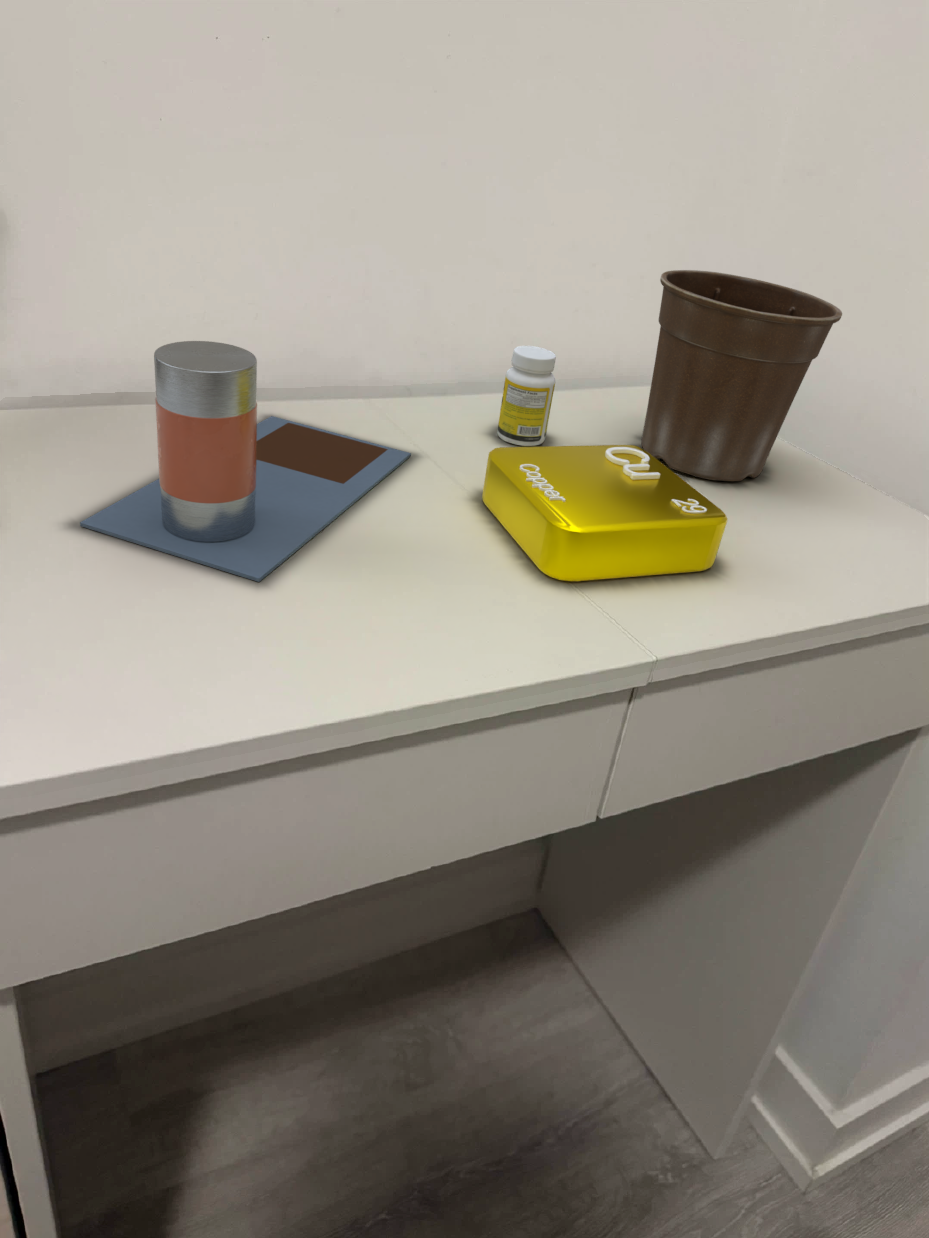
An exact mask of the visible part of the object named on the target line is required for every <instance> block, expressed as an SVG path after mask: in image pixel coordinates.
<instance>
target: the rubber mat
mask: <svg viewBox="0 0 929 1238" xmlns="http://www.w3.org/2000/svg"><path fill="white" fill-rule="evenodd" d="M410 457H412V452H409V451H405V450H400V449H397V448H393V447H389V446H386V445H382V444H380V443H379V444H378V443H375V442H371V441H367V440H363V439H359V438H355V437H353V436H348V435H344V434H341V433H337V432H334V431H329V430H326V429H322V428H318V427H315V426H311V425H307V424H304V423H300V422H296V421H292V420H289V419H286V418H285V419H284V418H281V417H277V416H274V415H271V416H269V417H267V418H266V419H264V420H262V421H259V422H257V457H256V488H255V525H254V527H253V529H252V530H251V531H250V532H249V533H247V534H246V535H244V536H242V537H240V538H237V539H233V540H229V541H223V542H197V541H191V540H186V539H183V538H180V537H177V536H175V535H173V534H172V533H170V532H169V531H167V530H166V528H165V527H164V525H163V523H162V508H161V488H160V483H159V478H157V479H156V480H154V481H152V482H150V483H148V484H146V485H144V486H143V487H141V488H139V489H138V490H136V491H134V492H131V494H128V495H126V496H125V497H123V498H121V499H120V500H118V501H115V502H114V503H112V504H110V505H109V506H107V507H105V508H103V509H102V510H99V511H98V512H95V513H94V514H92V515H90V516H89V517H87V518H85V519H84V520H81V521H80V522H79V526H80V527H81V528H85V529H88V530H92V531H94V532H98V533H100V534H104V535H107V536H110V537H114V538H117V539H120V540H124V541H126V542H130V543H133V544H136V545H140V546H143V547H146V548H149V549H152V550H155V551H159V552H161V553H165V554H168V555H170V556H174V557H178V558H181V559H184V560H187V561H190V562H192V563H193V562H194V563H197V564H200V565H203V566H206V567H210V568H213V569H216V570H219V571H222V572H226V573H229V574H232V575H234V576H237V577H241V578H245V579H248V580H251V581H255V582H256V583H257V582H258V583H260V582H262V580H264V579H265V578H266V577H267V576H269V575H270V574H271V573H272V572H273V571H275V570H276V569H277V568H278V567H280V566H281V564H283V563H285V562H286V560H288V559H289V558H290V557H292V555H294V554H295V553H296V552H297V551H299V550H300V549H301V548H302V547H303V546H304V545H306V544H307V543H309V541H310V540H312V539H313V538H314V537H316V536H317V535H318V534H319V533H320V532H321V531H323V530H324V529H325V528H326V527H328V526H329V525H330V524H331V523H332V522H334V521H335V520H336V519H338V518H339V517H340V516H341V515H342V514H343V513H344V512H345V511H347V510H348V509H349V508H350V507H352V506H353V505H354V504H356V502H358V500H360V499H361V498H362V497H364V496H365V495H366V494H367V493H368V492H370V491H371V490H372V489H373V488H374V487H376V486H377V485H378V484H379V483H381V482H382V481H383V480H384V479H385V478H387V476H389V475H390V474H391V473H392V472H393V471H395V470H396V469H397V468H399V467H400V466H401V465H402V464H403V463H405V462H406V461H407V460H408V459H409V458H410Z"/></svg>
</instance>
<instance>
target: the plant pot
mask: <svg viewBox="0 0 929 1238" xmlns="http://www.w3.org/2000/svg"><path fill="white" fill-rule="evenodd" d="M659 281H660V284H661V285H662V294H661V300H660V308H659V313H658V315H659V316H658V323H659V325H660V328H659V333H658V334H659V335H658V340H657V346H656V353H655V361H654V365H653V366H654V367H653V370H652V371H653V372H652V378H651V384H650V388H649V395H648V401H647V407H646V412H645V418H644V423H643V429H642V434H641V438H640V439H641V440H640V443H641V447H642V449H643V450H645V451H646V452H648V453H649V454H651V455H652V456H653V457H655V458H656V459H657V460H660V459H662V460H663V462H665V464H666V466H667V467H668V468H669V469H672V470H675V471H678V472H681V473H683V474H684V473H685V474H687V475H691V476H692V477H695V478H699V479H703V480H704V479H705V480H711V481H723V482H741V481H743V480H744V479H746V478H747V477H749V478H751V479H755V478H757V477H758V476H759V475H760V474H761V473H762V472H763V469H764V467H765V465H766V462H767V460H768V458H769V456H770V453H771V451H772V448H773V446H774V444H775V442H776V439H777V437H778V435H779V433H780V430H781V428H782V426H783V424H784V422H785V420H786V418H787V416H788V413H789V411H790V408H791V407H792V404H793V402H794V400H795V397H796V396H797V394H798V392H799V389H800V387H801V385H802V383H803V381H804V379H805V376H806V374H807V372H808V370H809V368H810V366H811V363H812V362H813V360H814V359H816V358H818V357H819V355H820V352H821V350H822V348H823V346H824V344H825V341H826V340H827V337H828V335H829V333H830V331H831V329H832V327H833V325H834V324H836V323H839V321H840V320H841V318H842V316H843V312H842V310H841V309H840V308H839V307H838V306H836V305H834V304H833V303H831V302H828V301H827V300H825V299H822V298H820V297H817V296H815V295H813V294H811V293H808V292H806V291H805V292H804V291H802V290H799V289H795V288H791V287H788V286H784V285H781V284H777V283H773V282H769V281H766V280H765V281H764V280H761V279H756V278H751V277H747V276H740V275H735V274H732V273H731V274H730V273H724V272H717V271H710V270H698V269H697V270H695V269H680V270H678V269H677V270H676V269H675V270H667V271H664V272H662V274H661V275H660V279H659Z"/></svg>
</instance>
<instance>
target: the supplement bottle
mask: <svg viewBox="0 0 929 1238" xmlns="http://www.w3.org/2000/svg"><path fill="white" fill-rule="evenodd" d="M556 358H557V355H556V354H555V352H553V351H551V350H549V349H547V348H544V347H539V346H534V345H519V346H515V347H514V348H513V351H512V356H511V361H510V362H511V367H510V368H509V369H507V371H506V373H505V378H504V384H503V389H502V390H503V391H502V397H501V405H500V411H499V417H498V424H497V431H496V434H497V436H498V437H499V438H500V440H502V441H504V442H506V443H509V444H512V445H516V446H519V447H537V446H539V445H541V444H543V443H544V442H545V440H546V436H547V431H548V425H549V419H550V415H551V409H552V403H553V397H554V392H555V387H556V377H555V375H554V373H553V372H554V369H555V364H556Z"/></svg>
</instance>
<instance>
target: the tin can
mask: <svg viewBox="0 0 929 1238" xmlns="http://www.w3.org/2000/svg"><path fill="white" fill-rule="evenodd" d="M153 361H154V362H153V364H154V382H155V384H154V385H155V399H154V400H155V419H156V421H155V422H156V438H157V439H156V442H157V458H158V459H157V461H158V479H159V483H160V488H161V508H162V523H163V525H164V527H165V528H166V530H167V531H169V532H170V533H172V534H173V535H175V536H177V537H180V538H183V539H186V540H191V541H197V542H223V541H229V540H233V539H237V538H240V537H242V536H244V535H246V534H247V533H249V532H250V531H251V530H252V529H253V527H254V525H255V488H256V457H257V424H258V401H257V391H258V390H257V389H258V388H257V387H258V386H257V385H258V382H257V379H258V378H257V377H258V373H257V372H258V359H257V357H256V355H255V354H254V353H253V352H252V351H250V350H247V349H246V348H244V347H243V348H242V347H240V346H237V345H234V344H230V343H224V342H219V341H208V340H207V341H206V340H186V341H185V340H184V341H176V342H170V343H167V344H164V345H161V346H159V347H158V348H156V349H155V351H154V353H153Z"/></svg>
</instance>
